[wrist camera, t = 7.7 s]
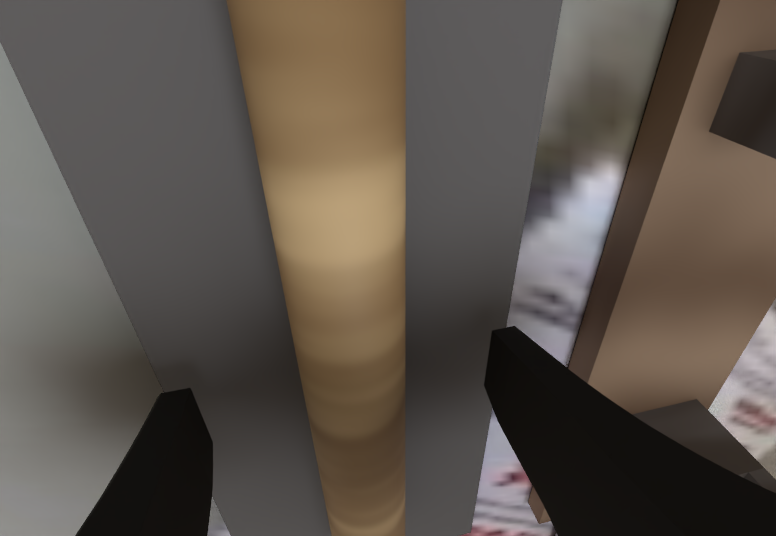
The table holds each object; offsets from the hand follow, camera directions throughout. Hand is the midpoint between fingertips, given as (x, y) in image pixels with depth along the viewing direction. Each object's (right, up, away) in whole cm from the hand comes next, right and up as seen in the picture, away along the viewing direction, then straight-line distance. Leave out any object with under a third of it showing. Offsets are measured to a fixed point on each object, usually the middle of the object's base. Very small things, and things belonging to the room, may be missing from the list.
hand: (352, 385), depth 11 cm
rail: (0, +1, +1) cm, 1 cm away
